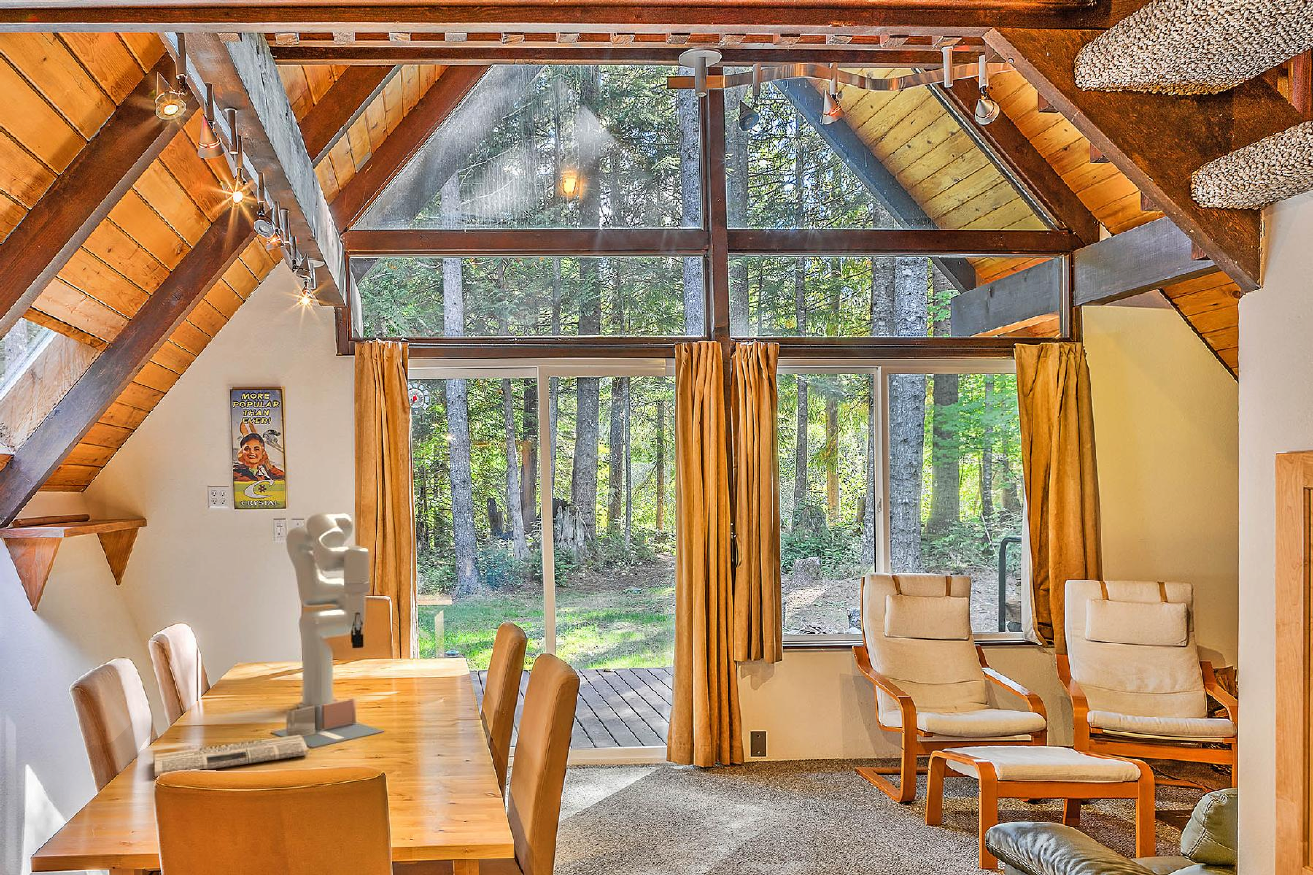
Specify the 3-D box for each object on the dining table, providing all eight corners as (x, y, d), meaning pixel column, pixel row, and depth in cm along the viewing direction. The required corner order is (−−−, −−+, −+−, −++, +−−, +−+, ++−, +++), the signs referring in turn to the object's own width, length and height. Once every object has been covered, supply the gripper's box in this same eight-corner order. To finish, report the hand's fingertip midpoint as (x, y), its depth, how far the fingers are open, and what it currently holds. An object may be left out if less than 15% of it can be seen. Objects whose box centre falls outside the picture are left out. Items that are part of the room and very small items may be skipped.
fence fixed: (286, 737, 290) (285, 711, 290) (312, 732, 296) (311, 706, 296) (289, 738, 289) (289, 712, 289) (315, 733, 294) (315, 707, 295)
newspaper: (154, 779, 253) (154, 768, 253) (154, 760, 270) (154, 750, 270) (307, 757, 269) (307, 746, 269) (298, 740, 286) (298, 730, 287)
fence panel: (317, 731, 295) (316, 707, 295) (313, 730, 296) (313, 706, 296) (357, 722, 304) (356, 699, 304) (353, 721, 306) (353, 698, 306)
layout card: (267, 733, 296) (267, 732, 296) (340, 718, 313) (340, 717, 313) (309, 749, 278) (309, 747, 278) (384, 732, 295) (384, 730, 295)
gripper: (343, 586, 312) (343, 641, 311) (344, 592, 295) (345, 651, 295) (368, 585, 314) (368, 639, 314) (371, 591, 298) (371, 649, 297)
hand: (357, 645), depth 304 cm, fingers open, 9 cm apart
